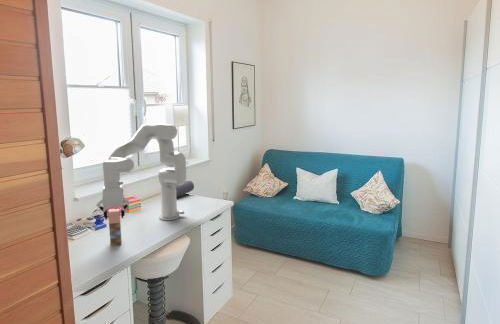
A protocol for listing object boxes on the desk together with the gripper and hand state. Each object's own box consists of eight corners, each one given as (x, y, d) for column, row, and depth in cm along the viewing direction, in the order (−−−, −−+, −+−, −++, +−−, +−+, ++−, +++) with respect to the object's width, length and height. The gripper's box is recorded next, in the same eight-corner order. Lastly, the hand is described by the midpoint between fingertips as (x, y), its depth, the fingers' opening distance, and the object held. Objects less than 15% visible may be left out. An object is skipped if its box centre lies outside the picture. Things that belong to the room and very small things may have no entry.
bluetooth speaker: (185, 191, 291) (185, 179, 290) (194, 193, 287) (194, 180, 285) (165, 198, 272) (165, 185, 270) (175, 199, 268) (174, 186, 266)
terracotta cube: (120, 219, 189) (119, 208, 188) (119, 222, 185) (118, 211, 184) (110, 220, 188) (109, 209, 187) (109, 223, 183) (108, 212, 182)
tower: (121, 241, 192) (120, 219, 189) (120, 245, 187) (119, 222, 185) (111, 242, 190) (110, 220, 188) (110, 245, 185) (109, 223, 183)
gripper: (130, 181, 189) (132, 214, 192) (94, 183, 184) (97, 217, 187) (130, 185, 181) (131, 218, 185) (92, 187, 177) (95, 221, 180)
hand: (114, 217), depth 186 cm, fingers open, 7 cm apart
